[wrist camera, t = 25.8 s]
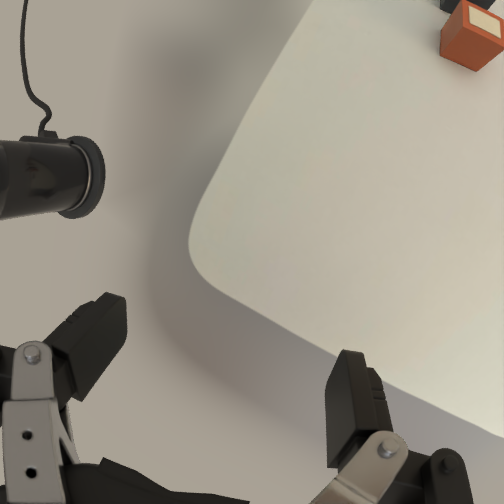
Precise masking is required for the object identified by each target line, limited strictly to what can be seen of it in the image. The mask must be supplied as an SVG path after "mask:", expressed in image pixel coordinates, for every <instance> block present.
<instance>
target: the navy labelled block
mask: <svg viewBox="0 0 504 504" xmlns="http://www.w3.org/2000/svg"><path fill="white" fill-rule="evenodd" d="M460 1H461V0H440V9H441V10H444V11H446V12H449V13H451V14H452V13H453V11H454V10H455V8H456V7H457V5H458V4H459V2H460ZM466 1H468V2H471V3H473V4H475V5H477V6H479V7H481V8H483V9H485V10H488V9H489V8H490V6H491V5H492V4H493V3H494V2H495V0H466Z"/></svg>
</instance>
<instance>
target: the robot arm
mask: <svg viewBox="0 0 504 504" xmlns="http://www.w3.org/2000/svg"><path fill="white" fill-rule="evenodd" d="M27 4H28V0H24V5H23V12H22V20H21V32H20V55H21V65H22V72H23V79H24V84H25V88H26V91H27V94H28V96H29V97H30V99H31V100H32V101H33V102H34V103H35V104H36V105H38V106H39V107H41V108H42V109H43V110H44V111H45V112H46V117H45V118H44V119H43V120H42V121H41V123H40V126H39V130H38V137H34V136H23V137H21V138H20V140H19V141H5V140H0V220H6V219H12V218H18V217H24V216H30V215H36V214H43V213H50V212H59V211H69V210H75V209H77V208H79V207H80V206H82V205H83V204H84V202H85V201H86V200H87V198H88V196H89V194H90V191H91V188H92V183H93V166H92V161H91V158H90V156H89V154H88V152H87V151H86V150H85V149H84V148H83V147H81V146H79V145H75V144H74V142H73V140H68V139H59V138H58V136H57V134H56V132H55V131H47V130H44V128H45V125H46V123H47V122H48V121H49V120H50V119H51V116H52V112H51V110H50V108H49V106H48V105H47V104H45V103H44V102H42V101H41V100H39V99H38V98H37V97H36V96H35V95H34V94H33V92H32V90H31V88H30V85H29V80H28V74H27V67H26V59H25V44H24V43H25V42H24V36H25V19H26V11H27ZM126 337H127V312H126V300H125V298H124V297H121V296H118V295H115V294H111V293H108V292H105V293H104V294H103V295H102V296H101V297H99V298H98V299H97V300H96V301H95V302H94V301H90V302H88V303H86V304H83V305H81V306H79V307H78V308H77V309H76V310H75V311H74V312H73V313H72V315H70V316H69V317H68V318H67V319H66V321H63V322H62V323H61V324H60V325H59V326H58V327H57V328H56V329H55V330H54V331H53V332H52V333H51V334H50V335H49V336H48V337H47V338H46V339H45V340H44V341H43V342H39V341H29V342H26V343H23V344H21V345H20V346H19V347H18V348H17V349H15V348H10V347H6V346H1V345H0V427H1V426H2V438H3V439H2V440H3V462H4V476H5V485H1V486H0V504H249V502H250V501H245V500H240V499H234V498H229V497H225V496H219V495H216V494H206V493H187V492H174V491H170V490H167V489H165V488H164V487H162V486H160V485H158V484H157V483H155V482H153V481H152V480H150V479H149V478H147V477H145V476H144V475H142V474H141V473H139V472H138V471H136V470H133V469H130V468H128V467H126V466H123V465H120V464H118V463H115V462H113V461H111V460H108V459H106V458H104V457H103V459H102V460H101V462H100V464H99V465H98V464H90V463H80V460H79V457H78V455H77V452H76V448H75V444H74V439H73V433H72V428H71V421H70V415H69V407H68V404H67V402H68V401H69V400H70V398H71V397H73V398H74V399H76V400H79V401H81V402H82V401H83V400H84V398H85V397H86V396H87V394H88V393H89V391H90V390H91V389H92V387H93V386H94V384H95V383H96V382H97V380H98V379H99V377H100V376H101V375H102V373H103V372H104V371H105V369H106V368H107V366H108V365H109V364H110V362H111V361H112V360H113V358H114V357H115V356H116V354H117V353H118V352H119V350H120V349H121V348H122V346H123V345H124V343H125V340H126ZM385 399H386V397H385V393H384V391H383V385H382V381H381V378H380V377H379V375H378V374H377V373H376V371H375V370H374V368H369V367H366V362H365V358H364V354H363V353H362V352H356V351H349V350H342V351H341V352H340V354H339V356H338V358H337V361H336V363H335V365H334V368H333V370H332V372H331V374H330V376H329V379H328V381H327V384H326V389H325V409H326V436H327V468H338V475H337V476H336V477H335V478H334V479H333V480H332V481H331V482H330V483H329V484H328V485H327V486H326V487H325V488H324V489H323V491H321V492H320V494H318V495H317V496H316V497H315V498H314V499H313V500H312V501H311V503H309V504H474V503H473V498H472V493H471V488H470V484H469V479H468V475H467V471H466V467H465V463H464V461H463V459H462V457H461V456H460V455H459V454H458V453H457V452H456V451H454V450H452V449H448V448H442V449H439V450H437V451H435V452H434V453H433V454H432V456H427V455H424V454H420V453H417V452H413V451H410V450H408V446H407V444H406V442H405V441H404V440H403V439H402V438H401V437H400V436H399V435H398V434H396V433H394V432H393V428H392V424H391V419H390V414H389V410H388V406H387V401H386V400H385Z"/></svg>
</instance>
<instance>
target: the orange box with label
mask: <svg viewBox="0 0 504 504" xmlns="http://www.w3.org/2000/svg"><path fill="white" fill-rule="evenodd" d="M503 50H504V20H503V19H502V18H500V17H498V16H496V15H495V14H493V13H491V12H489V11H487V10H485V9H483V8H481V7H479V6H477V5H475V4H473V3H471V2H468V1H466V0H461V1H460V2H459V4H458V5H457V7H456V8H455V10H454V11H453V13H452V14H451V16H450V17H449V19H448V21H447V22H446V24H445V25H444V27H443V28H442V30H441V44H440V56H442V57H444V58H447V59H449V60H452V61H454V62H456V63H458V64H461V65H463V66H465V67H467V68H470V69H472V70H474V71H476V72H477V71H478V70H479V69H481V68H482V67H483V66H484V65H486V64H487V63H488V62H489V61H491V60H492V59H493V58H494V57H496V56H497V55H498V54H499V53H501V52H502V51H503Z"/></svg>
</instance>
